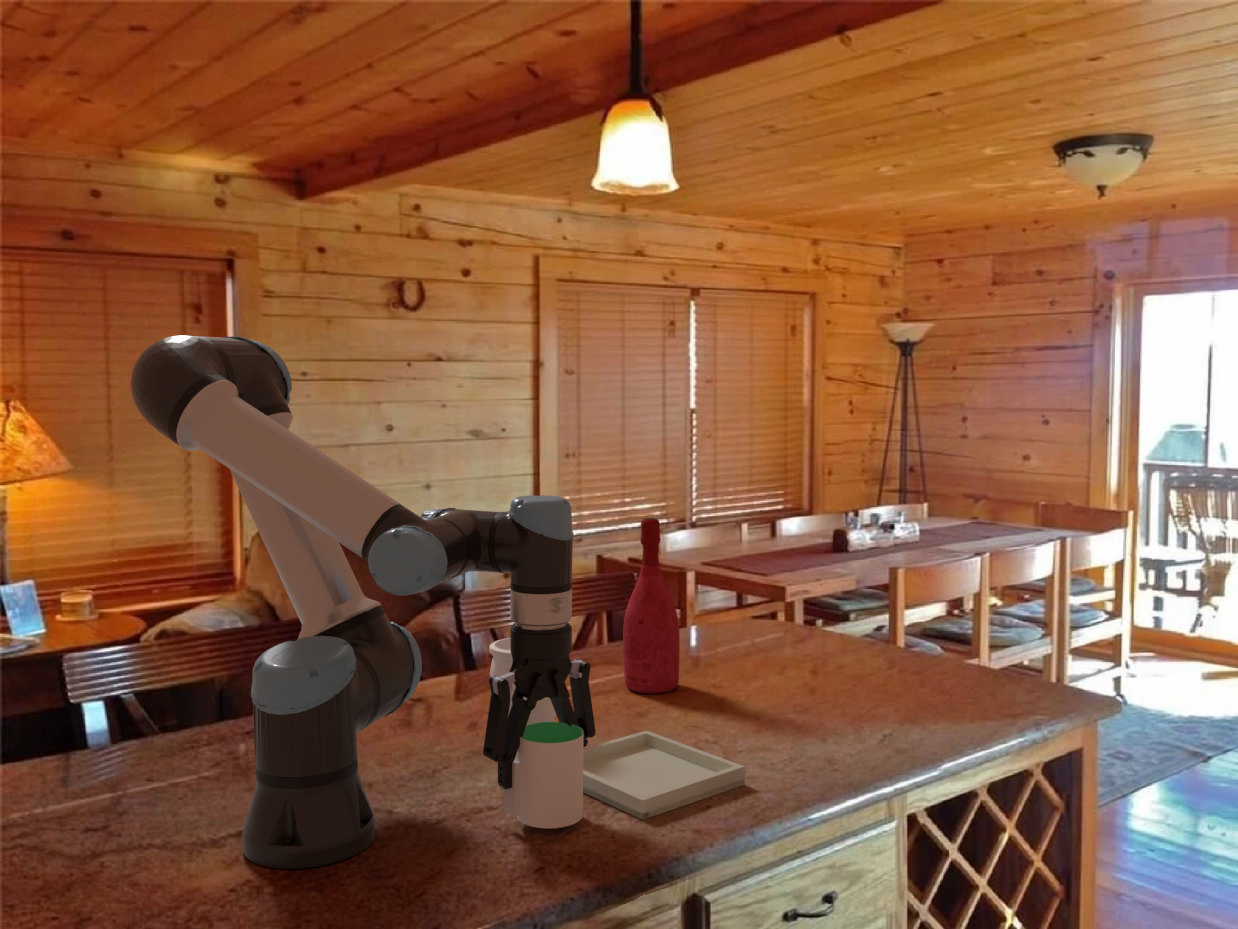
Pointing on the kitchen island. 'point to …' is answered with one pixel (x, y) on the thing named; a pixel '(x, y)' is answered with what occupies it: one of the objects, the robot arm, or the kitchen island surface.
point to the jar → (501, 667)
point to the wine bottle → (651, 624)
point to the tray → (654, 774)
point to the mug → (551, 775)
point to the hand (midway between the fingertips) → (540, 803)
